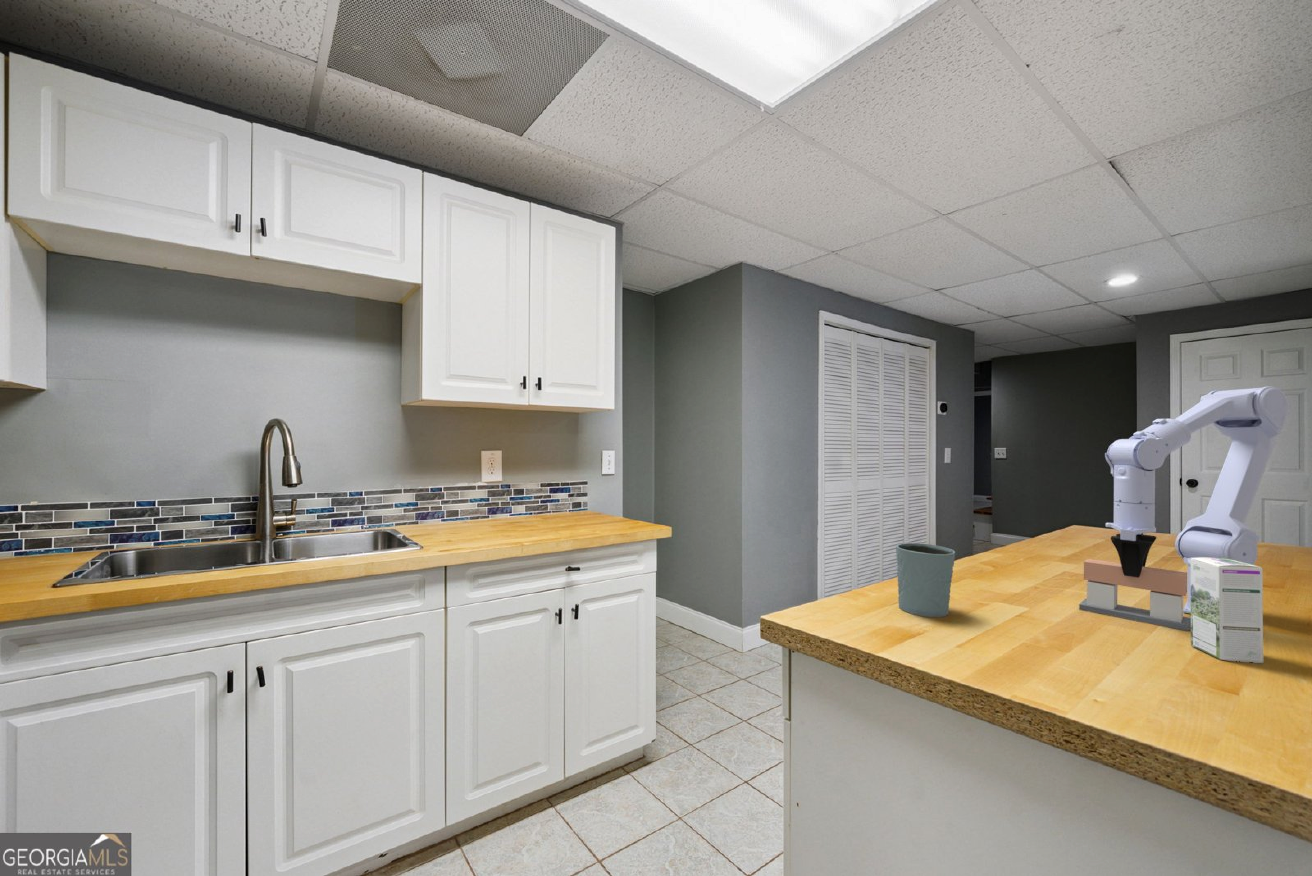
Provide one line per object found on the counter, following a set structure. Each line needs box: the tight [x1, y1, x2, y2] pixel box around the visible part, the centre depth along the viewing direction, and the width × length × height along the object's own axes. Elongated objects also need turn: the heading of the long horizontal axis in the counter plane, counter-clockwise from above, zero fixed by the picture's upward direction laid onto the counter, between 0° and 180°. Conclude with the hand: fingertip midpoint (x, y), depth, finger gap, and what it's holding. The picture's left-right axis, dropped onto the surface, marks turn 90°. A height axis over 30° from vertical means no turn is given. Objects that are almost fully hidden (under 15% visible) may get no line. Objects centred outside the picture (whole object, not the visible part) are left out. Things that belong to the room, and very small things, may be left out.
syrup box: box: [1190, 557, 1264, 664], centre depth 81 cm, size 6×6×14 cm
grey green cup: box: [895, 542, 956, 618], centre depth 101 cm, size 10×10×12 cm
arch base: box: [1078, 580, 1191, 632], centre depth 98 cm, size 6×15×6 cm, turn 41°
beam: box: [1083, 558, 1188, 597], centre depth 98 cm, size 4×14×4 cm, turn 41°
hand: (1133, 574), depth 98 cm, fingers closed on beam, 4 cm apart
